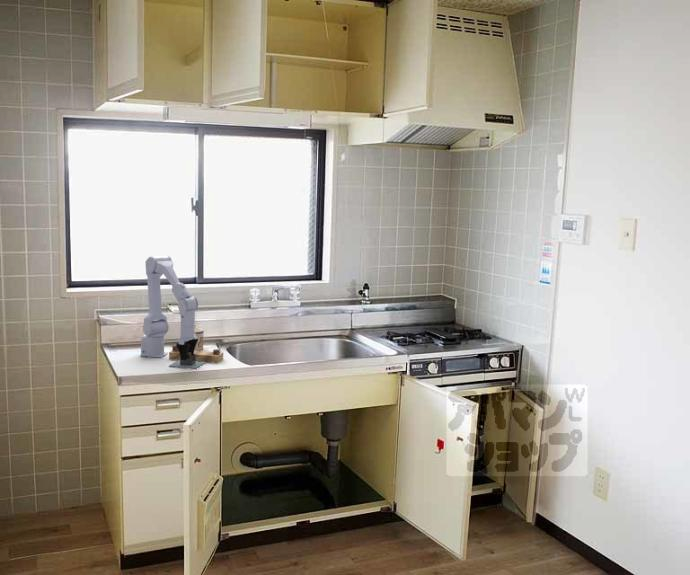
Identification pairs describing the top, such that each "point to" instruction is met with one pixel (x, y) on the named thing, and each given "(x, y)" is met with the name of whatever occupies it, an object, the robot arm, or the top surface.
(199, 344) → the teacup with lid
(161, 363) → the top surface
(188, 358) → the lever cap
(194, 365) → the slate mat
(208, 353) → the hand plane
